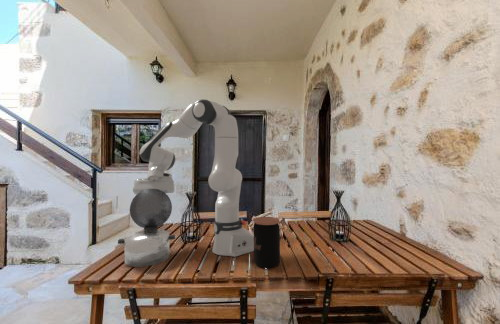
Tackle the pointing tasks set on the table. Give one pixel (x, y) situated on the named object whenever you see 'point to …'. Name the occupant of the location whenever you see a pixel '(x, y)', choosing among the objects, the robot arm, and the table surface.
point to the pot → (146, 247)
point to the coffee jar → (266, 242)
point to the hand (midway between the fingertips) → (153, 199)
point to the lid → (150, 209)
